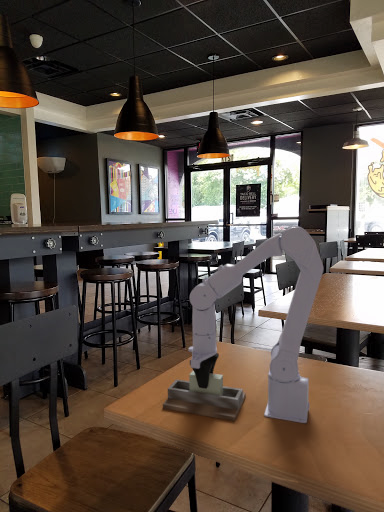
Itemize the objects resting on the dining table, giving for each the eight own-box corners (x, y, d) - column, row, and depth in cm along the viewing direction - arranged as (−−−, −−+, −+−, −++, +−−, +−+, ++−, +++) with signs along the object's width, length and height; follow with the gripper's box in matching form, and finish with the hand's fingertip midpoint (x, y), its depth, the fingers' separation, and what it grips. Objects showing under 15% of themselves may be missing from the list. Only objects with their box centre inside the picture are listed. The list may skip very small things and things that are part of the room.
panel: (222, 397, 93) (222, 375, 92) (220, 402, 90) (220, 379, 90) (192, 392, 95) (192, 370, 95) (189, 397, 93) (189, 374, 92)
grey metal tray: (245, 396, 96) (245, 383, 95) (234, 421, 84) (234, 406, 84) (180, 386, 102) (180, 374, 101) (162, 408, 91) (162, 394, 90)
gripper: (198, 322, 99) (199, 370, 101) (177, 339, 86) (179, 395, 87) (223, 324, 97) (224, 374, 98) (207, 343, 83) (207, 400, 85)
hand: (204, 384), depth 93 cm, fingers closed on panel, 2 cm apart
